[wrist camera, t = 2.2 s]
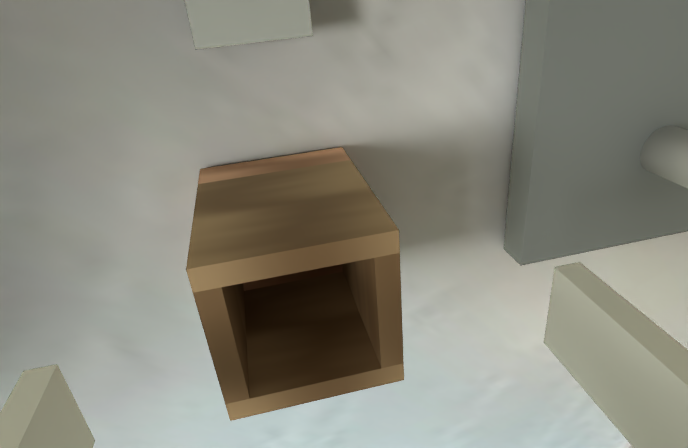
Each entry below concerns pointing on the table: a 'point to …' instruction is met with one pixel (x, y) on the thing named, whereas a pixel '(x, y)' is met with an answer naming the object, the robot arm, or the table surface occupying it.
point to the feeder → (247, 21)
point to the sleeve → (295, 281)
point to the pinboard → (599, 127)
